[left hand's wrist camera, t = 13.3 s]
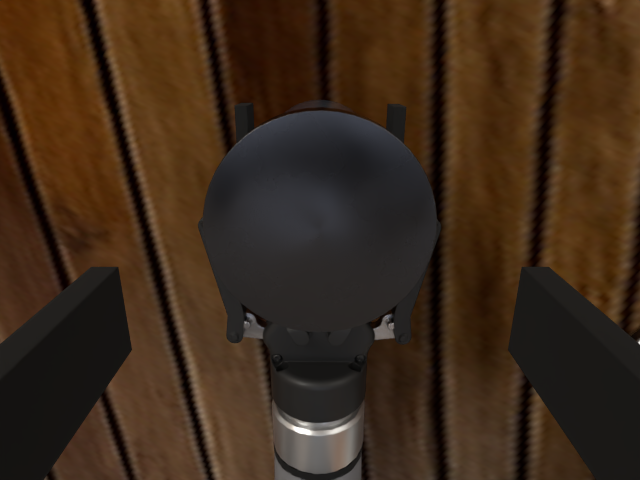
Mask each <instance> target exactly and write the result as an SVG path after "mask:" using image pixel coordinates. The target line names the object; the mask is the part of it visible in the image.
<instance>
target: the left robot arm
mask: <svg viewBox="0 0 640 480" xmlns="http://www.w3.org/2000/svg"><path fill="white" fill-rule="evenodd" d="M131 350H132V348H131V342H130V336H129V330H128V324H127V317H126V311H125V305H124V299H123V293H122V287H121V281H120V275H119V269H118V267H91V268H90V269H88V270H87V271H86V272H85V273H84V274H82V275H81V276H80V277H79V278H78V279H77V280H75V281H74V282H73V283H72V284H71V285H69V286H68V287H67V288H66V289H65V290H64V291H62V292H61V293H60V294H59V295H58V296H56V297H55V298H54V299H53V300H52V301H51V302H49V303H48V304H47V305H46V306H45V307H44V308H42V309H41V310H40V311H39V312H38V313H36V314H35V315H34V316H33V317H32V318H31V319H29V320H28V321H27V322H26V323H25V324H23V325H22V326H21V327H20V328H19V329H18V330H16V331H15V332H14V333H13V334H12V335H10V336H9V337H8V338H7V339H6V340H5V341H3V342H2V343H1V344H0V480H44V478H45V477H46V475H47V474H48V472H49V471H50V470H51V468H52V467H53V465H54V464H55V462H56V461H57V459H58V458H59V456H60V455H61V453H62V452H63V450H64V449H65V447H66V446H67V445H68V443H69V442H70V440H71V439H72V437H73V436H74V434H75V433H76V431H77V430H78V428H79V427H80V425H81V424H82V422H83V421H84V420H85V418H86V417H87V415H88V414H89V412H90V411H91V409H92V408H93V406H94V405H95V403H96V402H97V400H98V399H99V397H100V396H101V395H102V393H103V392H104V390H105V389H106V387H107V386H108V384H109V383H110V381H111V380H112V378H113V377H114V375H115V374H116V372H117V371H118V370H119V368H120V367H121V365H122V364H123V362H124V361H125V359H126V358H127V356H128V355H129V353H130V352H131ZM508 350H509V352H510V353H511V355H512V356H513V358H514V359H515V361H516V362H517V364H518V365H519V367H520V368H521V370H522V371H523V372H524V374H525V375H526V377H527V378H528V380H529V381H530V383H531V384H532V386H533V387H534V389H535V390H536V392H537V393H538V395H539V396H540V397H541V399H542V400H543V402H544V403H545V405H546V406H547V408H548V409H549V411H550V412H551V414H552V415H553V417H554V418H555V420H556V421H557V422H558V424H559V425H560V427H561V428H562V430H563V431H564V433H565V434H566V436H567V437H568V439H569V440H570V442H571V443H572V445H573V446H574V447H575V449H576V450H577V452H578V453H579V455H580V456H581V458H582V459H583V461H584V462H585V464H586V465H587V467H588V468H589V470H590V471H591V472H592V474H593V475H594V477H595V478H596V480H640V329H639V330H638V331H637V332H636V333H634V334H633V335H632V336H630V335H628V334H627V333H626V332H625V331H624V330H622V329H621V328H620V327H619V326H618V325H617V324H615V323H614V322H613V321H612V320H611V319H609V318H608V317H607V316H606V315H605V314H604V313H602V312H601V311H600V310H599V309H598V308H596V307H595V306H594V305H593V304H592V303H591V302H589V301H588V300H587V299H586V298H585V297H584V296H582V295H581V294H580V293H579V292H578V291H576V290H575V289H574V288H573V287H572V286H571V285H569V284H568V283H567V282H566V281H565V280H563V279H562V278H561V277H560V276H559V275H558V274H556V273H555V272H554V271H553V270H552V269H550V268H549V267H522V269H521V275H520V281H519V287H518V293H517V299H516V305H515V311H514V317H513V324H512V330H511V336H510V342H509V348H508Z"/></svg>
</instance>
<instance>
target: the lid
mask: <svg viewBox="0 0 640 480" xmlns="http://www.w3.org/2000/svg"><path fill="white" fill-rule="evenodd" d="M436 229H437V214H436V204H435V199H434V195H433V191H432V188H431V185H430V183H429V180H428V178H427V175H426V173H425V172H424V170H423V168H422V166H421V165H420V163H419V161H418V160H417V159H416V157H415V156H414V155H413V153H412V152H411V151H410V150H409V149H408V148H407V147H406V146H405V145H404V144H403V143H402V142H401V141H400V140H399V139H398V138H397V137H396V136H395V135H393V134H392V133H391V132H390V131H388V130H387V129H385V128H384V127H383V126H381V125H380V124H378V123H376V122H374V121H373V120H371V119H369V118H367V117H364V116H362V115H359V114H356V113H354V112H350V111H346V110H341V109H336V108H324V107H318V108H304V109H299V110H294V111H290V112H287V113H284V114H281V115H278V116H275V117H273V118H271V119H269V120H267V121H265V122H263V123H262V124H260V125H259V126H257V127H256V128H254V129H253V130H252V131H250V132H249V133H248V134H247V135H245V136H244V137H243V138H242V139H241V140H240V141H239V142H238V143H237V144H235V145H234V146H233V147H232V149H231V150H230V151H229V152H228V153H227V155H226V156H225V157H224V158H223V160H222V161H221V163H220V165H219V166H218V168H217V170H216V171H215V173H214V176H213V178H212V180H211V182H210V185H209V188H208V191H207V195H206V199H205V205H204V212H203V231H204V238H205V244H206V247H207V251H208V254H209V258H210V260H211V262H212V265H213V267H214V269H215V271H216V273H217V274H218V276H219V278H220V279H221V281H222V283H223V284H224V285H225V286H226V288H227V289H228V290H229V291H230V293H231V294H232V295H233V296H234V297H235V298H236V299H237V300H238V301H239V302H240V303H241V304H243V305H244V306H245V307H247V308H248V309H249V310H251V311H252V312H253V313H255V314H257V315H258V316H260V317H262V318H264V319H266V320H268V321H270V322H272V323H275V324H277V325H280V326H283V327H286V328H290V329H294V330H300V331H306V332H334V331H340V330H346V329H350V328H353V327H357V326H360V325H363V324H365V323H368V322H370V321H373V320H374V319H376V318H378V317H380V316H382V315H383V314H385V313H386V312H388V311H389V310H391V309H392V308H393V307H395V306H396V305H397V304H398V303H399V302H401V301H402V300H403V299H404V298H405V297H406V296H407V295H408V294H409V292H410V291H411V290H412V289H413V288H414V286H415V285H416V284H417V282H418V281H419V279H420V278H421V276H422V274H423V273H424V271H425V269H426V267H427V264H428V262H429V260H430V257H431V254H432V251H433V248H434V243H435V237H436Z"/></svg>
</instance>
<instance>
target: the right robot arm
mask: <svg viewBox="0 0 640 480" xmlns="http://www.w3.org/2000/svg"><path fill="white" fill-rule="evenodd" d="M405 116H406V107H405V106H403V105H400V104H388V108H387V126H386V129H387V130H388V131H390V132H391V133H392V134H393V135H395V136H396V137H397V138H398V139H399V140H400V141H401V142H402V143H403V144H404V131H405ZM235 121H236V139H237V143H238V142H239V141H240V140H241V139H242V138H243V137H244V136H245V135H247V134H248V133H249V132H250V131H252V130H253V129H254V114H253V103H240V104H238V105H235ZM198 228H199V231H200V234H201V237H202V240H203V243H204V246H205V249H206V252H207V255H208V258H209V254H208V251H207V247H206V244H205V238H204V231H203V217H202V218H201V220H200V221H199V223H198ZM440 230H441V224H440V222H439V221H438V220H437V229H436V237H435V243H434V248H435V245H436V242H437V239H438V236H439V233H440ZM434 248H433V250H434ZM432 253H433V251H432ZM431 256H432V254H431ZM430 259H431V257H430ZM209 261H210V264H211V267H212V270H213V273H214V276H215V279H216V282H217V285H218V288H219V291H220V294H221V297H222V300H223V303H224V306H225V309H226V312H227V315H228V320H227V339H228V340H229V341H230V342H232V343H238V342H240V341H241V340H242V338H243V337H250V338H259V339H263V340H264V343H265V344H266V345H267V347H268V349H269V351H270V360H271V388H272V397H273V401H272V416H273V437H274V451H275V480H361V452H362V443H363V432H364V408H365V401H364V397H365V389H366V368H367V353H368V350H369V348H370V347H371V345H372V344H373V342H374V340H378V339H389V338H395V340H396V342H397V343H399V344H407V343H408V342H409V341H410V340H411V322H410V316H411V313H412V310H413V308H414V305H415V302H416V299H417V296H418V293H419V290H420V288H421V285H422V282H423V279H424V276H425V273H426V270H427V268H428V265H429V262H430V260H429V262H428V264H427V267H426V269H425V271H424V273H423V274H422V276H421V278H420V279H419V281H418V282H417V284H416V285H415V286H414V288H413V289H412V290H411V291H410V292H409V294H408V295H407V296H406V297H405V298H404V299H403V300H402V301H401V302H399V303H398V304H397V305H396V306H395V307H393V308H392V309H391V310H389V311H388V312H386V313H385V314H383V315H382V316H380V318H379V320H378V321H376V322H373V323H372V322H371V321H370V322H368V323H365V324H363V325H360V326H357V327H353V328H350V329H346V330H340V331H334V332H306V331H300V330H294V329H290V328H286V327H283V326H280V325H277V324H275V323H272V322H270V321H268V320H267V321H266V322H265V321H262V320H260V319H259V317H258V315H257V314H255V313H253V312H252V311H251V310H249V309H248V308H247V307H245V306H244V305H243V304H241V303H240V302H239V301H238V300H237V299H236V298H235V297H234V296H233V295H232V294H231V293H230V291H229V290H228V289H227V288H226V286H225V285H224V284H223V283H222V281H221V279H220V278H219V276H218V274H217V273H216V271H215V269H214V267H213V265H212V262H211V260H210V258H209Z"/></svg>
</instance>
